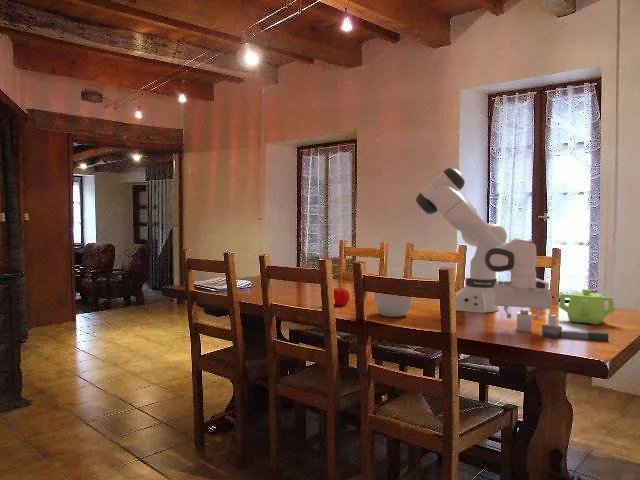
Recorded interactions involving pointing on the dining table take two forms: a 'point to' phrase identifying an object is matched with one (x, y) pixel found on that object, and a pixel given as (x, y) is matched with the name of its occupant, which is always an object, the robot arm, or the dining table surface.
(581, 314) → the teapot
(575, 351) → the dining table surface
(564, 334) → the ratchet
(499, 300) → the robot arm
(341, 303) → the tomato
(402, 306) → the white rounded bowl
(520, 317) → the cube with grey knob
